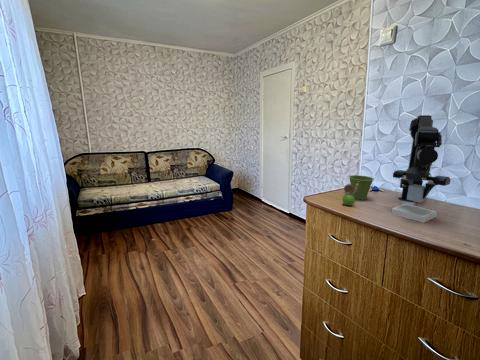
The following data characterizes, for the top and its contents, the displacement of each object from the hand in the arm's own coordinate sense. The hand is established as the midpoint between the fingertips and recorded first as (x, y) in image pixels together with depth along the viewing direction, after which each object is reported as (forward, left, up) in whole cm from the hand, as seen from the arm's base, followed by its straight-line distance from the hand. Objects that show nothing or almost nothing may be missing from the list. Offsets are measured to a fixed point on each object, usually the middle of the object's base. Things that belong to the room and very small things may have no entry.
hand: (416, 197), depth 103 cm
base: (0, 0, -8) cm, 8 cm away
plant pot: (-4, -27, -8) cm, 28 cm away
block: (0, 0, -1) cm, 1 cm away
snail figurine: (+11, -23, -8) cm, 27 cm away
